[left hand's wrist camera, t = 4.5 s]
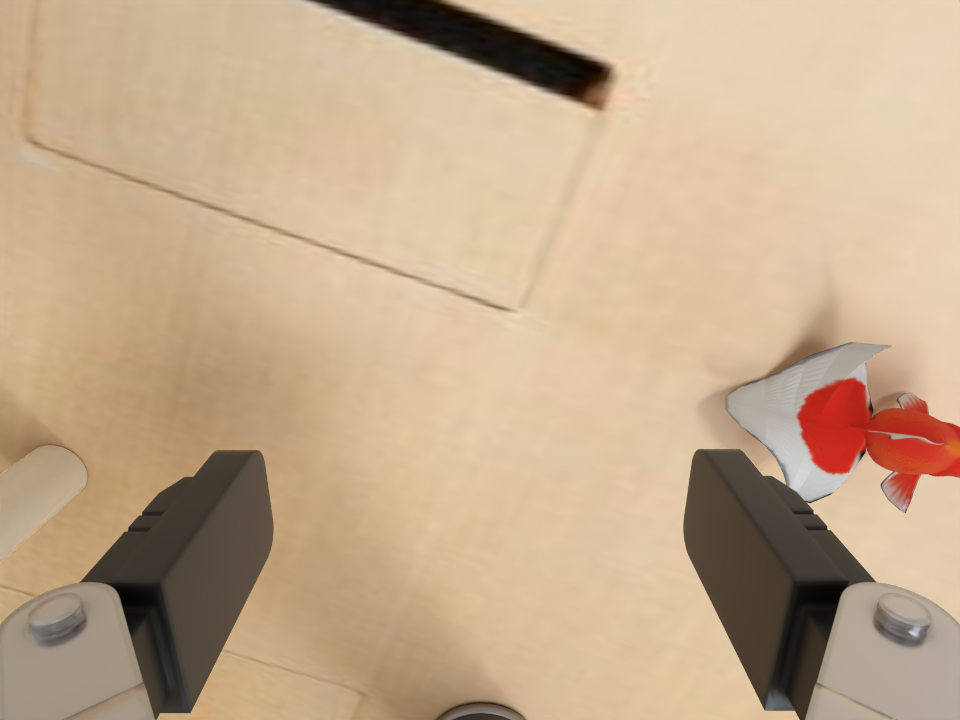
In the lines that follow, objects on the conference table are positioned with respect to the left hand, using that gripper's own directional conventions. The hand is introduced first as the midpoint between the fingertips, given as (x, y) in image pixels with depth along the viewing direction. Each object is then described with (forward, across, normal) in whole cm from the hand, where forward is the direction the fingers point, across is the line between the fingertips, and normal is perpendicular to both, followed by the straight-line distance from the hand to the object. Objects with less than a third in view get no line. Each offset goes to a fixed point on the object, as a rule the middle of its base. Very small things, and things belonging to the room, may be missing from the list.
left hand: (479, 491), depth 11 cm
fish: (+29, +24, -12) cm, 40 cm away
